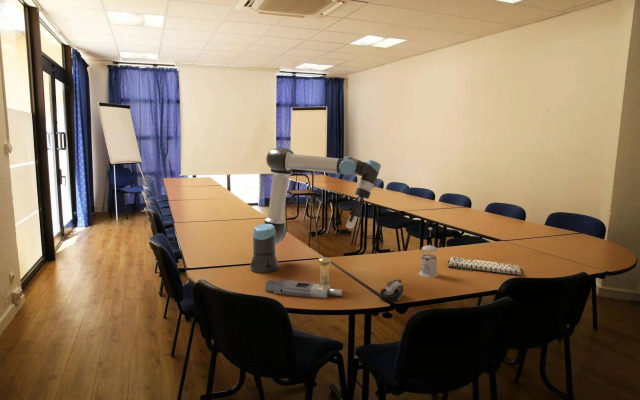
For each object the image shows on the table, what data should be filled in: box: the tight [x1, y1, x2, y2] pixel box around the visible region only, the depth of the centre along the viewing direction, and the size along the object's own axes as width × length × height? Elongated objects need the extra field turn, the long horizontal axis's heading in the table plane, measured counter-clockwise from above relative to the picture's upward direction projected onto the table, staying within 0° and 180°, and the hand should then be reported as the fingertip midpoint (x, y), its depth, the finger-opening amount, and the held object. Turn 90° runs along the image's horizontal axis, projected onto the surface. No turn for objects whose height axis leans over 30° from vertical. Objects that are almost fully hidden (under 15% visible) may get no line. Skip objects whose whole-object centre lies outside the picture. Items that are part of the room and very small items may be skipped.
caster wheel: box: [379, 278, 404, 303], centre depth 181 cm, size 7×11×10 cm
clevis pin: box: [318, 256, 332, 285], centre depth 193 cm, size 6×6×14 cm
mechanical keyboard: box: [447, 255, 522, 277], centre depth 227 cm, size 38×19×3 cm, turn 68°
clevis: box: [264, 279, 343, 299], centre depth 187 cm, size 35×9×4 cm, turn 76°
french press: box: [418, 227, 439, 278], centre depth 214 cm, size 10×12×25 cm
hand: (349, 227), depth 215 cm, fingers open, 13 cm apart
